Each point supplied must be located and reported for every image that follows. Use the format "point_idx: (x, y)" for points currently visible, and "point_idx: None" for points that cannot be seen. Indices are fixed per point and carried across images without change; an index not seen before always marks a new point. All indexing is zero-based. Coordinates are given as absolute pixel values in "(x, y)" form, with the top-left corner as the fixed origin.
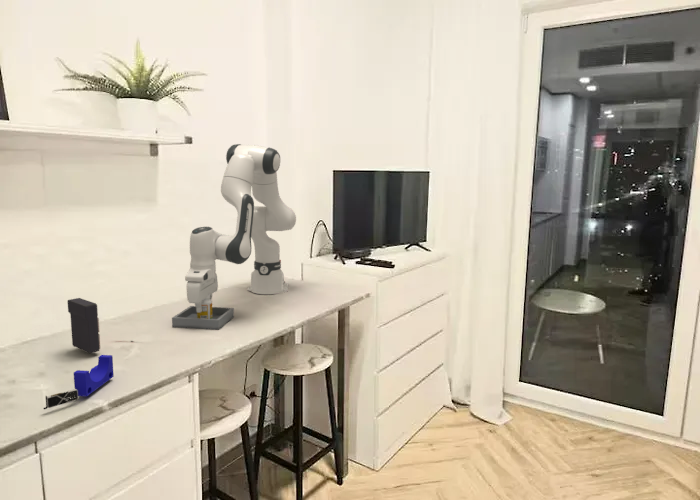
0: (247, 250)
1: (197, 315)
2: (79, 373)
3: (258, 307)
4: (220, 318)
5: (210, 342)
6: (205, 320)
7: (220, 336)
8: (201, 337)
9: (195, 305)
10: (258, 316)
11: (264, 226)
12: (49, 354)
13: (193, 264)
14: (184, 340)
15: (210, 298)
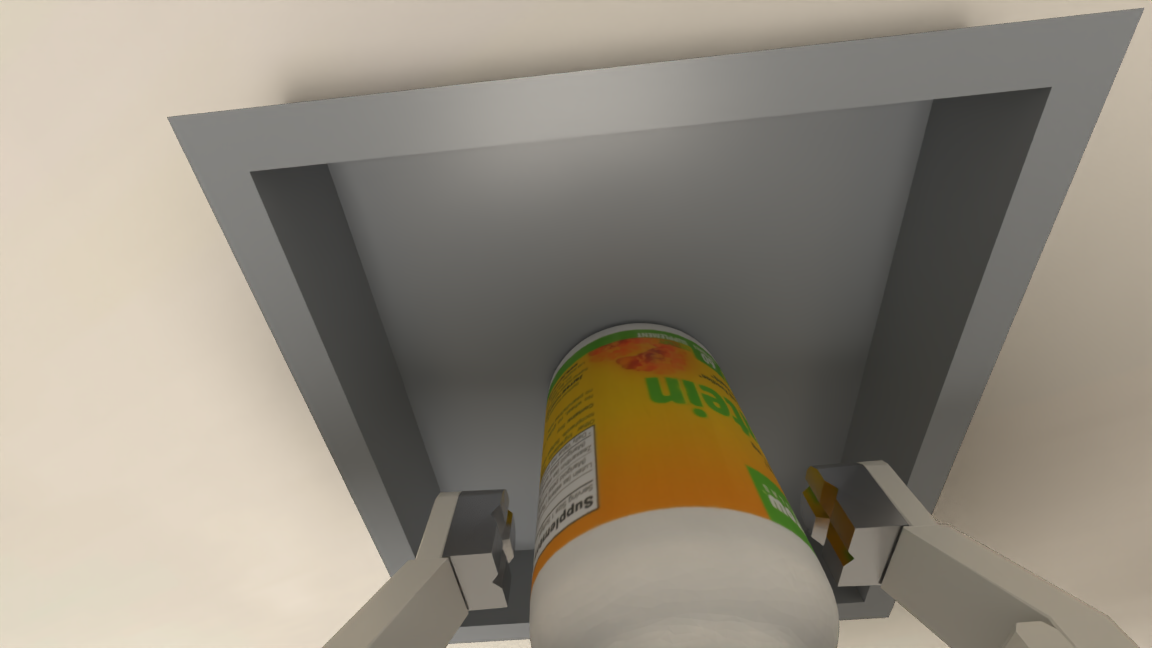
0: None
1: (579, 377)
2: None
3: (1138, 583)
4: (484, 639)
5: (184, 596)
6: (385, 551)
7: (325, 602)
8: (223, 521)
9: (357, 614)
10: (847, 641)
11: None
12: None
13: None
14: (67, 449)
15: (949, 632)
